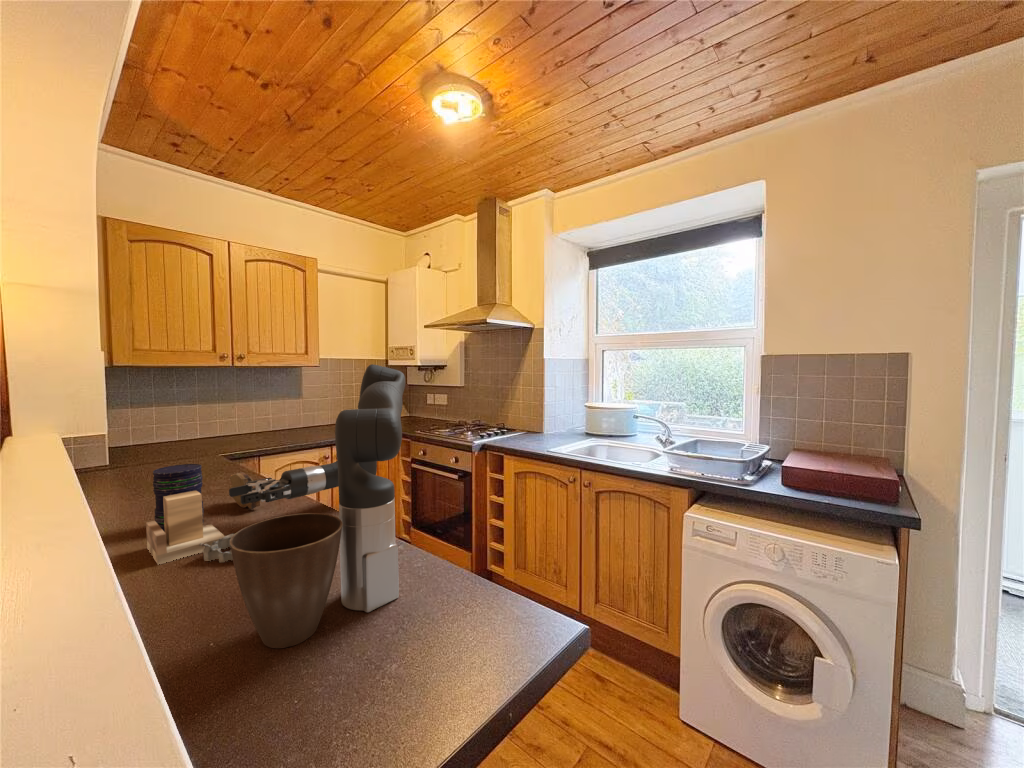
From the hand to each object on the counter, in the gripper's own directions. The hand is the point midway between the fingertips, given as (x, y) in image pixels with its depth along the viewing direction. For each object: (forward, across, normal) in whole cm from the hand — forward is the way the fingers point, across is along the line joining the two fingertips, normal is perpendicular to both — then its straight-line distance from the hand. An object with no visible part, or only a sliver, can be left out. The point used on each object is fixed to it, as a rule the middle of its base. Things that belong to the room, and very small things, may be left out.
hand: (235, 496), depth 101 cm
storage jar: (+8, -17, +10) cm, 21 cm away
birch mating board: (+10, 0, +9) cm, 13 cm away
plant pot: (+7, +50, +9) cm, 51 cm away
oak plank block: (+10, 0, +7) cm, 12 cm away
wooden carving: (-8, -21, +10) cm, 24 cm away
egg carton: (+4, +13, +10) cm, 17 cm away
